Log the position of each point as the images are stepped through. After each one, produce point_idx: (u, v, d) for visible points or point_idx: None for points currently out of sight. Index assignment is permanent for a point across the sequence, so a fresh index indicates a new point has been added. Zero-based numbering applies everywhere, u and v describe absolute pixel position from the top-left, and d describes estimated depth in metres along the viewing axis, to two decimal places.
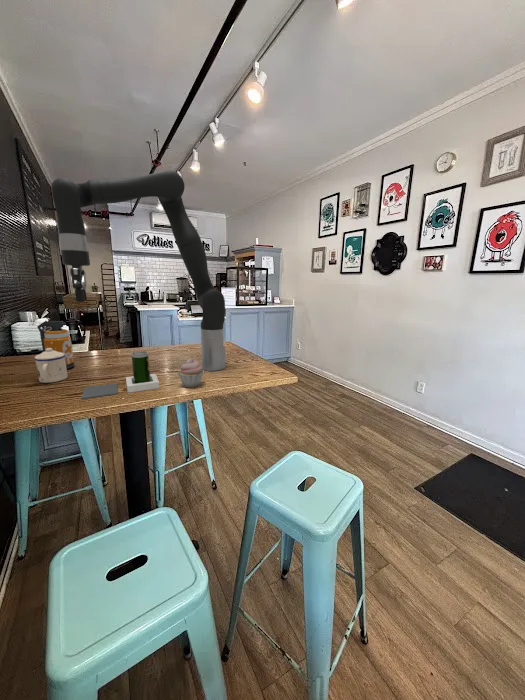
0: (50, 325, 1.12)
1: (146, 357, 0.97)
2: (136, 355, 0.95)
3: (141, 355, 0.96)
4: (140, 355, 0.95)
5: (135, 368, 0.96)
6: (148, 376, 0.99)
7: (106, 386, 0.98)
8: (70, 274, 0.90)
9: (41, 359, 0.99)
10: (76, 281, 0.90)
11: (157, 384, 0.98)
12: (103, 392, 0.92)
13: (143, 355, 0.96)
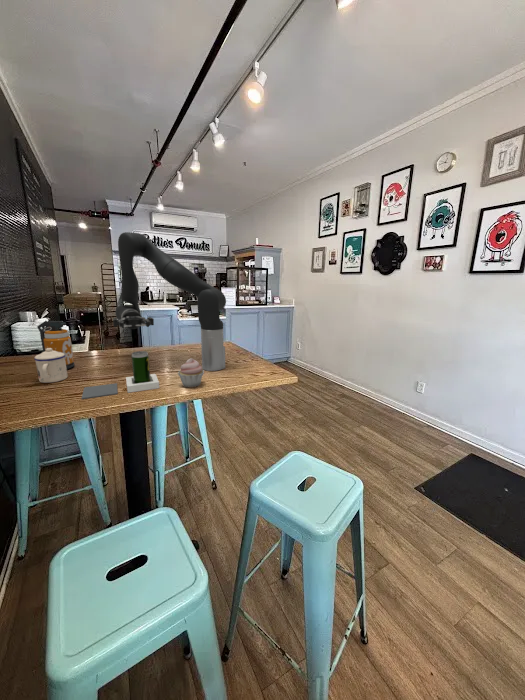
0: (50, 325, 1.12)
1: (146, 357, 0.97)
2: (136, 355, 0.95)
3: (141, 355, 0.96)
4: (140, 355, 0.95)
5: (135, 368, 0.96)
6: (148, 376, 0.99)
7: (106, 386, 0.98)
8: (127, 326, 1.11)
9: (41, 359, 0.99)
10: None
11: (157, 384, 0.98)
12: (103, 392, 0.92)
13: (143, 355, 0.96)
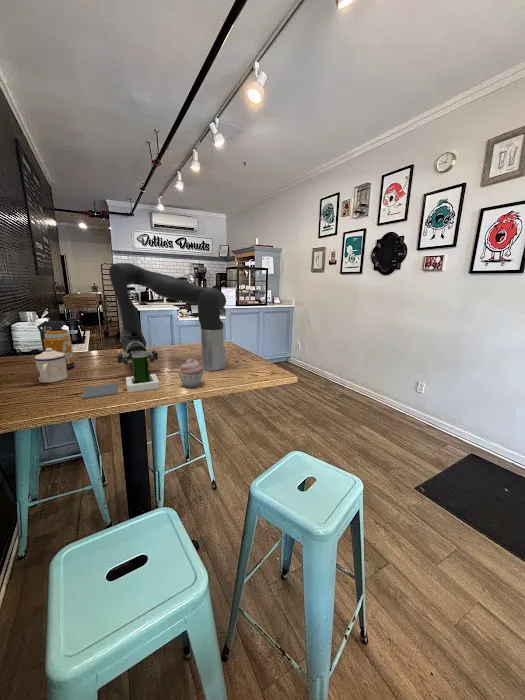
0: (50, 325, 1.12)
1: (146, 357, 0.97)
2: (136, 355, 0.95)
3: (141, 355, 0.96)
4: (140, 355, 0.95)
5: (135, 368, 0.96)
6: (148, 376, 0.99)
7: (106, 386, 0.98)
8: None
9: (41, 359, 0.99)
10: None
11: (157, 384, 0.98)
12: (103, 392, 0.92)
13: (143, 355, 0.96)
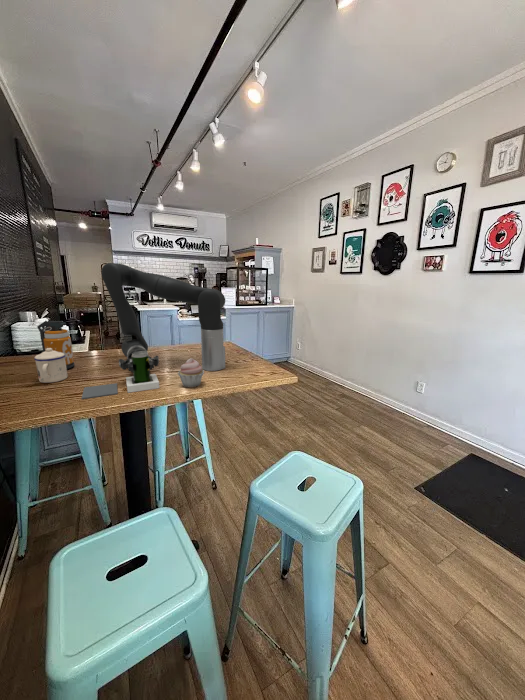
0: (50, 325, 1.12)
1: (146, 357, 0.97)
2: (136, 355, 0.95)
3: (141, 355, 0.96)
4: (140, 355, 0.95)
5: (135, 368, 0.96)
6: (148, 376, 0.99)
7: (106, 386, 0.98)
8: None
9: (41, 359, 0.99)
10: None
11: (157, 384, 0.98)
12: (103, 392, 0.92)
13: (143, 355, 0.96)
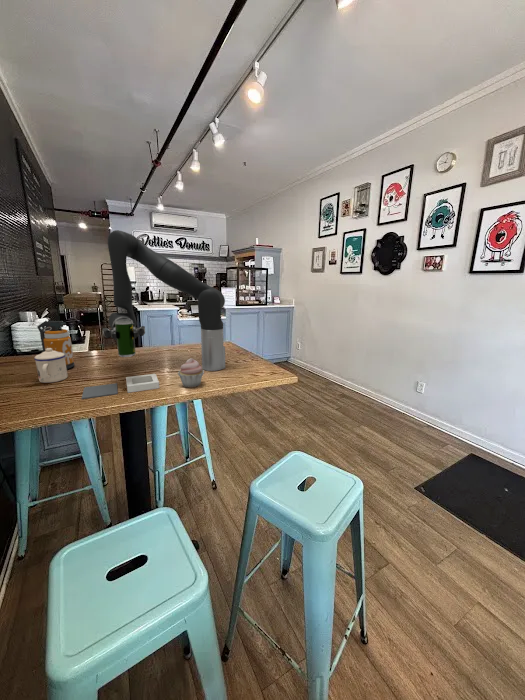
0: (50, 325, 1.12)
1: (130, 325, 0.93)
2: (119, 322, 0.91)
3: (125, 322, 0.91)
4: (124, 322, 0.91)
5: (119, 336, 0.92)
6: (133, 345, 0.95)
7: (106, 386, 0.98)
8: None
9: (41, 359, 0.99)
10: None
11: (157, 384, 0.98)
12: (103, 392, 0.92)
13: (127, 322, 0.92)
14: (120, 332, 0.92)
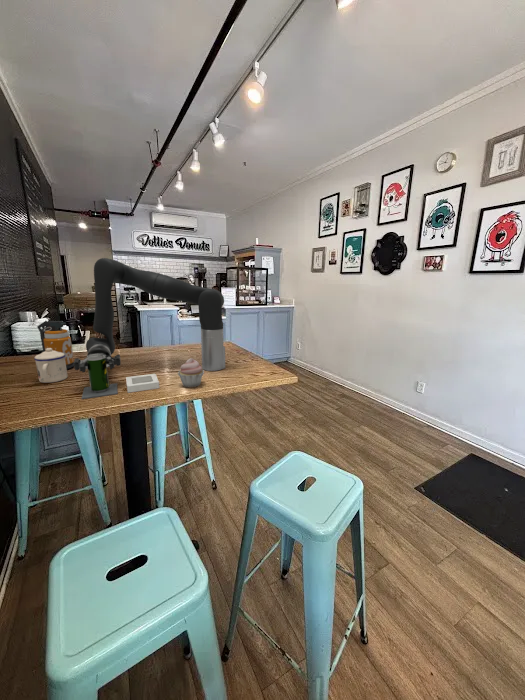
0: (50, 325, 1.12)
1: (102, 360, 0.91)
2: (91, 358, 0.89)
3: (96, 358, 0.90)
4: (95, 358, 0.89)
5: (90, 372, 0.90)
6: (106, 380, 0.93)
7: None
8: None
9: (41, 359, 0.99)
10: None
11: (157, 384, 0.98)
12: (103, 392, 0.92)
13: (98, 358, 0.90)
14: (92, 368, 0.90)
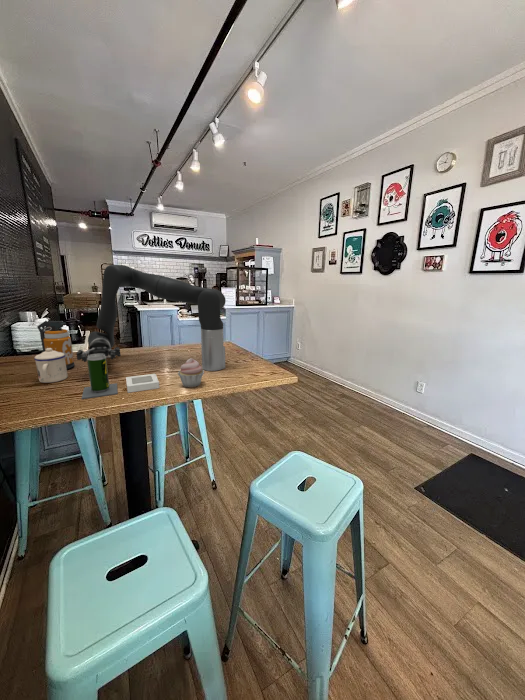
0: (50, 325, 1.12)
1: (103, 360, 0.91)
2: (91, 358, 0.89)
3: (97, 358, 0.90)
4: (96, 358, 0.90)
5: (91, 371, 0.90)
6: (106, 380, 0.93)
7: None
8: None
9: (41, 359, 0.99)
10: None
11: (157, 384, 0.98)
12: (103, 392, 0.92)
13: (99, 358, 0.90)
14: (92, 368, 0.90)
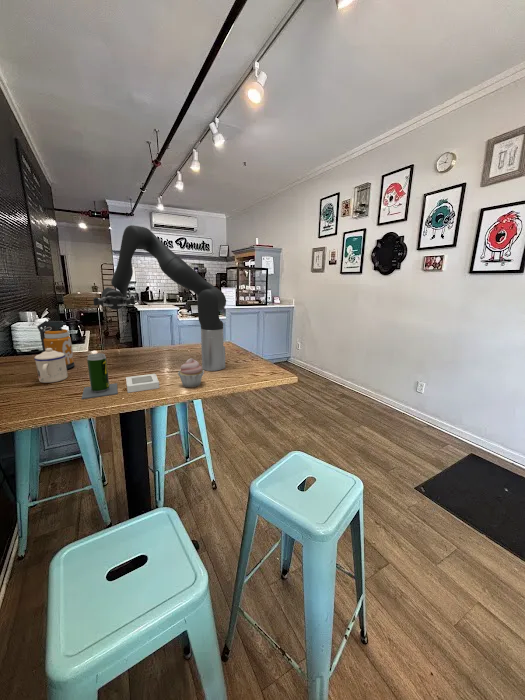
0: (50, 325, 1.12)
1: (103, 360, 0.91)
2: (91, 358, 0.89)
3: (97, 358, 0.90)
4: (96, 358, 0.90)
5: (91, 371, 0.90)
6: (106, 380, 0.93)
7: None
8: (109, 305, 1.12)
9: (41, 359, 0.99)
10: None
11: (157, 384, 0.98)
12: (103, 392, 0.92)
13: (99, 358, 0.90)
14: (92, 368, 0.90)
